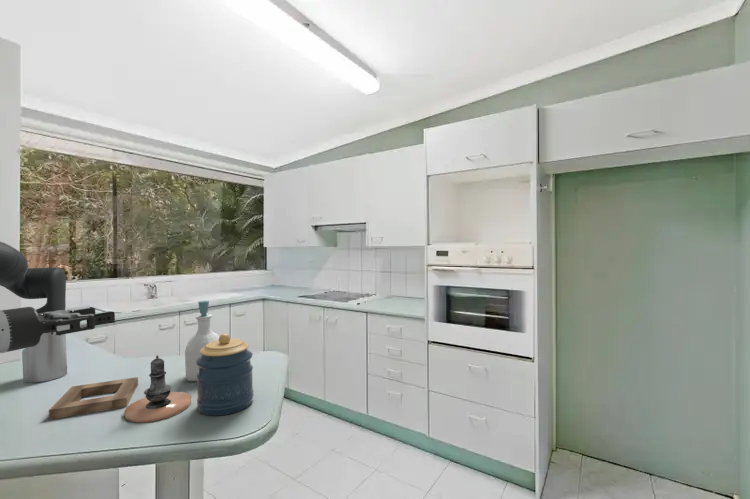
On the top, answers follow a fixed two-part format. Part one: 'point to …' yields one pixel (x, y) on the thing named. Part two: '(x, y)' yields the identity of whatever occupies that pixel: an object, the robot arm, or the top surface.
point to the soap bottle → (198, 341)
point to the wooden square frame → (73, 406)
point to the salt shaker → (157, 386)
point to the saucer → (143, 414)
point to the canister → (224, 377)
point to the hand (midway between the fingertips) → (103, 314)
